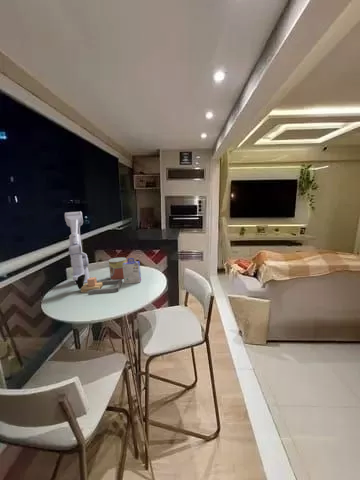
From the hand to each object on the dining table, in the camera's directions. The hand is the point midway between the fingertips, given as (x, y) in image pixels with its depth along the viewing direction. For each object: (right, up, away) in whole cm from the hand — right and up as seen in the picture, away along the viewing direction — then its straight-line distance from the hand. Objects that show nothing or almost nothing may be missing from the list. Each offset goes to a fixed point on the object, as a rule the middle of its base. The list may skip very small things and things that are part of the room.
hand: (80, 288), depth 148 cm
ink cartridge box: (+28, +2, +9) cm, 30 cm away
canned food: (+18, +3, +19) cm, 26 cm away
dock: (+15, 0, +1) cm, 15 cm away
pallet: (+6, -1, +1) cm, 6 cm away
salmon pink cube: (+7, +2, 0) cm, 7 cm away
